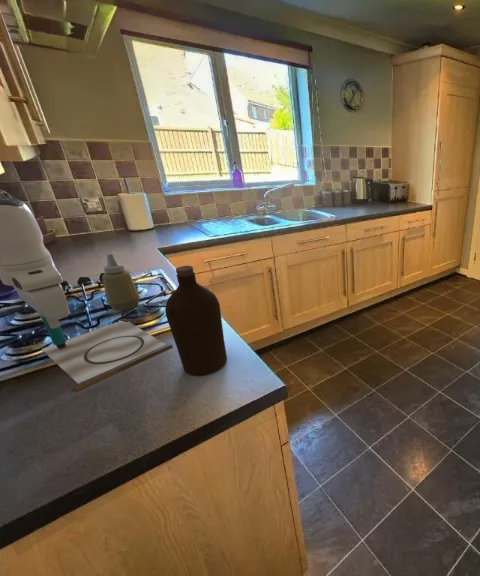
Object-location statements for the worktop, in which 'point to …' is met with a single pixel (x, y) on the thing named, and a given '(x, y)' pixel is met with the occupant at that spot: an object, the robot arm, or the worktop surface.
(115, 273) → the squeeze bottle
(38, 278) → the robot arm
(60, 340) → the marker
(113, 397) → the worktop surface
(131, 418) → the worktop surface
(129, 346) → the drawing board
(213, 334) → the olive oil
